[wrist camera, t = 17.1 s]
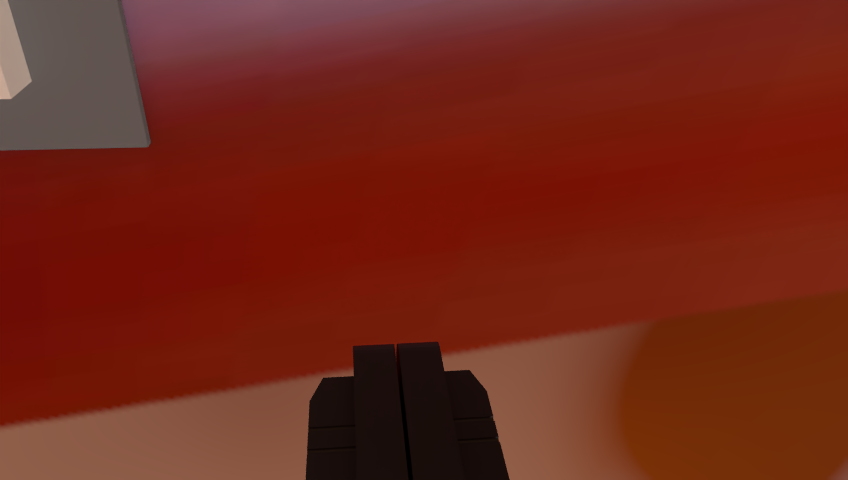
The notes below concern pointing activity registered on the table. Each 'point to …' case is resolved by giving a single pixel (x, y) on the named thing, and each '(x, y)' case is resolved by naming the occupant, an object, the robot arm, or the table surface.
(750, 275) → the table surface
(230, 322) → the table surface
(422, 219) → the table surface
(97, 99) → the mat
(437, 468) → the robot arm
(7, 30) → the beige flat block
